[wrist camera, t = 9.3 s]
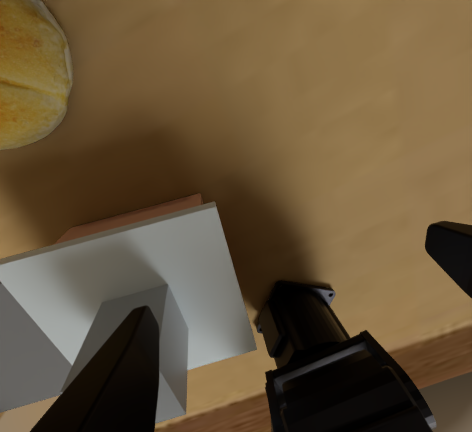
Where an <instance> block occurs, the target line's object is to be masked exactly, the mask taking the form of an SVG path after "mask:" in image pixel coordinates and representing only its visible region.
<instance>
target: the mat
mask: <svg viewBox="0 0 472 432" xmlns="http://www.w3.org/2000/svg"><path fill="white" fill-rule="evenodd" d="M71 368H72V365H71V364H70V362H69V361H68V360H67V359H66V358H65V357H64V355H63V354H62V353H61V352H60V351H59V349H58V348H57V347H56V346H55V345H54V344H53V342H52V341H51V340H50V339H49V338H48V337H47V335H46V334H45V333H44V332H43V331H42V330H41V328H40V327H39V326H38V325H37V324H36V323H35V321H34V320H33V319H32V318H31V317H30V316H29V314H28V313H27V312H26V311H25V310H24V309H23V307H22V306H21V305H20V304H19V303H18V302H17V300H16V299H15V298H14V297H13V296H12V295H11V293H10V292H9V291H8V290H7V289H6V287H5V286H4V285H3V284H2V283H1V282H0V413H1V412H4V411H7V410H11V409H14V408H17V407H21V406H24V405H28V404H31V403H35V402H38V401H41V400H45V399H48V398H51V397H55V396H59V395H61V393H60V391H61V389H62V387H63V385H64V383H65V381H66V378H67V376H68V374H69V372H70V370H71Z"/></svg>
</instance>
